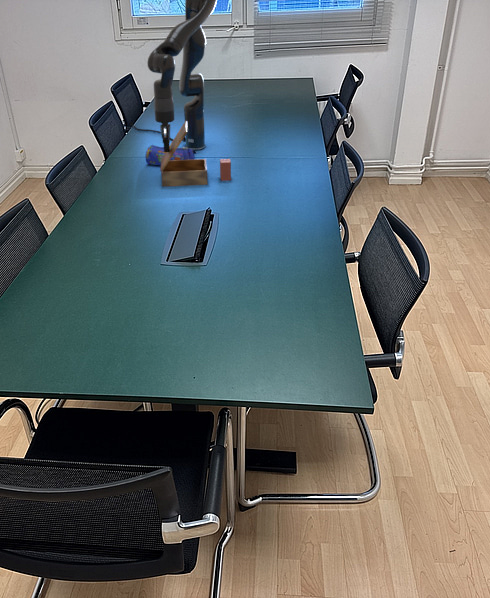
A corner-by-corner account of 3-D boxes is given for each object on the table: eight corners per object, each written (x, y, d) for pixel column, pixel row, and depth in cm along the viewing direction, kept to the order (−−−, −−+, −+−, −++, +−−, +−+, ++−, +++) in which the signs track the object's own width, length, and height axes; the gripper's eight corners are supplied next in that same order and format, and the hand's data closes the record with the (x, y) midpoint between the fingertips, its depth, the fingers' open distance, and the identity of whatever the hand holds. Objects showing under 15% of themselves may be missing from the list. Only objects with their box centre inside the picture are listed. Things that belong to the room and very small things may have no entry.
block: (230, 178, 232) (230, 158, 227) (230, 182, 229) (230, 162, 224) (220, 178, 232) (219, 159, 227) (220, 182, 229) (220, 162, 224)
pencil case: (197, 165, 245) (196, 144, 240) (190, 172, 239) (189, 151, 233) (152, 161, 251) (150, 140, 246) (144, 167, 245) (142, 146, 239)
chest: (206, 174, 237) (205, 158, 233) (207, 186, 226) (207, 170, 222) (163, 175, 237) (162, 160, 233) (162, 188, 225) (161, 172, 221)
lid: (187, 121, 224) (185, 120, 223) (187, 132, 213) (185, 130, 212) (162, 160, 233) (161, 159, 232) (161, 172, 221) (160, 171, 221)
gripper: (173, 113, 208) (175, 157, 218) (174, 103, 219) (176, 145, 229) (153, 113, 208) (157, 157, 218) (155, 104, 219) (158, 146, 229)
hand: (167, 151), depth 224 cm, fingers closed
